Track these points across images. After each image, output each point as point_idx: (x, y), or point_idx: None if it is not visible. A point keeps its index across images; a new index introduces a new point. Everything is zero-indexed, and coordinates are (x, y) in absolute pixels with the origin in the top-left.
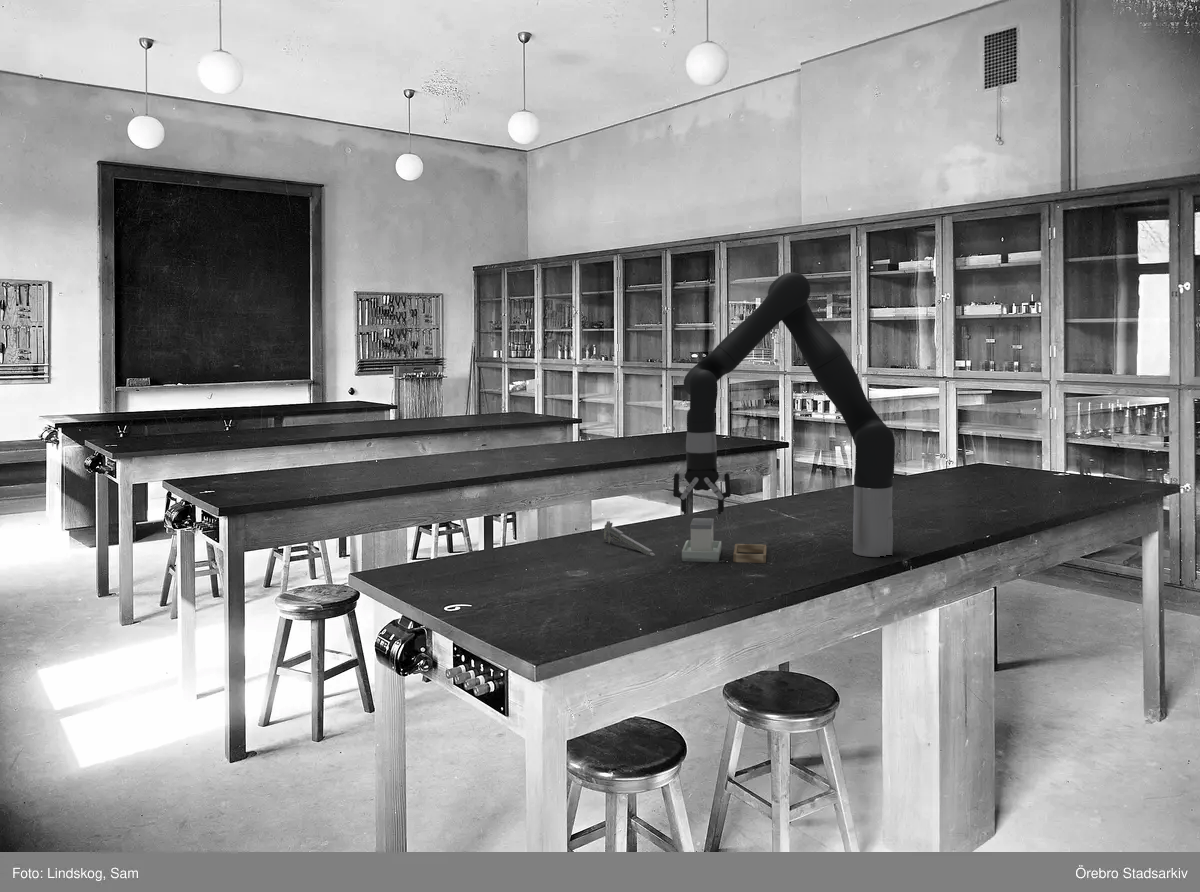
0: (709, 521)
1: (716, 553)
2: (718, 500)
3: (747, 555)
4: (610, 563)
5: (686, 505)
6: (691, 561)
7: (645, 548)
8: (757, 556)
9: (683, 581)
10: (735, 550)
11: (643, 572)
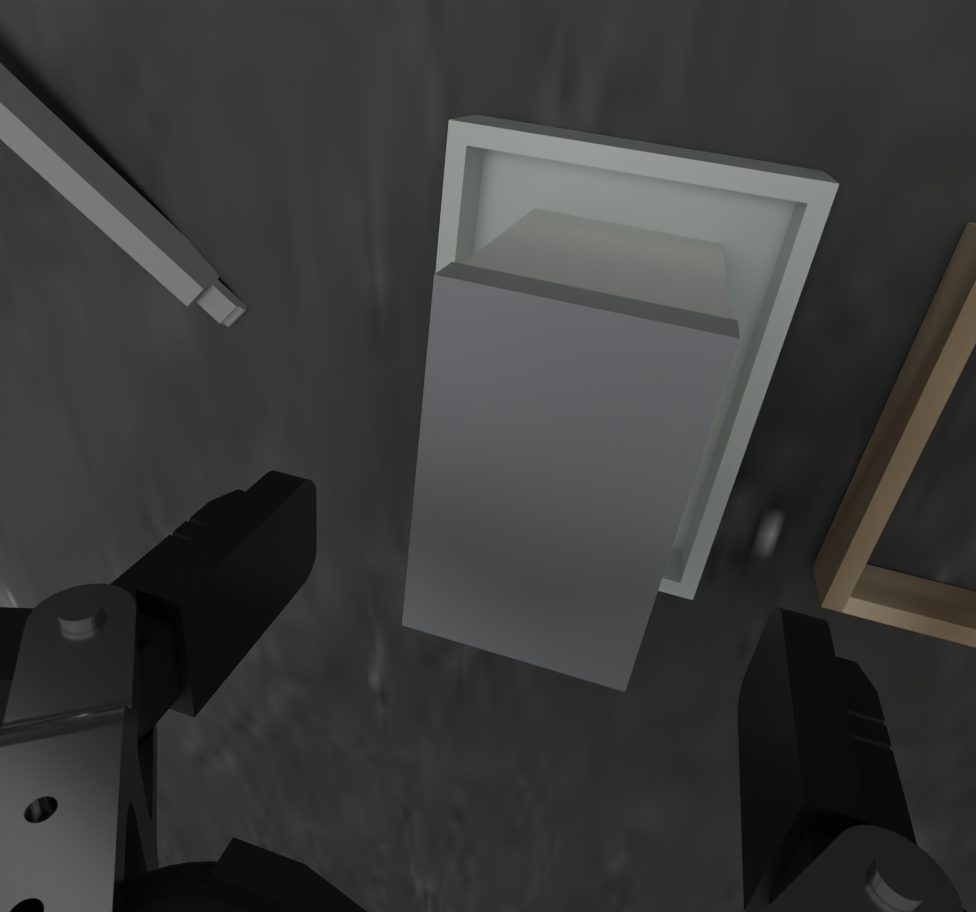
0: (637, 517)
1: (677, 590)
2: (756, 905)
3: (941, 632)
4: (47, 467)
5: (249, 633)
6: None
7: (144, 262)
8: None
9: (449, 814)
10: (884, 504)
11: (251, 654)
